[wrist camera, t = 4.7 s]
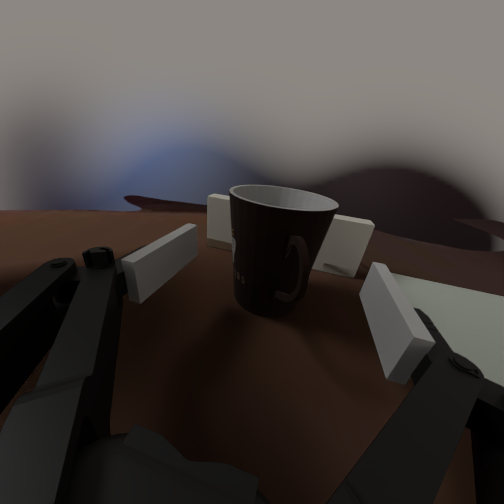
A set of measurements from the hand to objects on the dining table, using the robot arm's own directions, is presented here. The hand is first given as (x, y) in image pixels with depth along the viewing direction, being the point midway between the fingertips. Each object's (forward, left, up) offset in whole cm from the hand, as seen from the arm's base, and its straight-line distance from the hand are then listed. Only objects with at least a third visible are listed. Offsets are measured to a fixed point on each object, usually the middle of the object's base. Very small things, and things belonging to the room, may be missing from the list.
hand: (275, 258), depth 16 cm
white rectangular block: (-1, +12, -6) cm, 13 cm away
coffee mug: (-1, +2, -6) cm, 6 cm away
